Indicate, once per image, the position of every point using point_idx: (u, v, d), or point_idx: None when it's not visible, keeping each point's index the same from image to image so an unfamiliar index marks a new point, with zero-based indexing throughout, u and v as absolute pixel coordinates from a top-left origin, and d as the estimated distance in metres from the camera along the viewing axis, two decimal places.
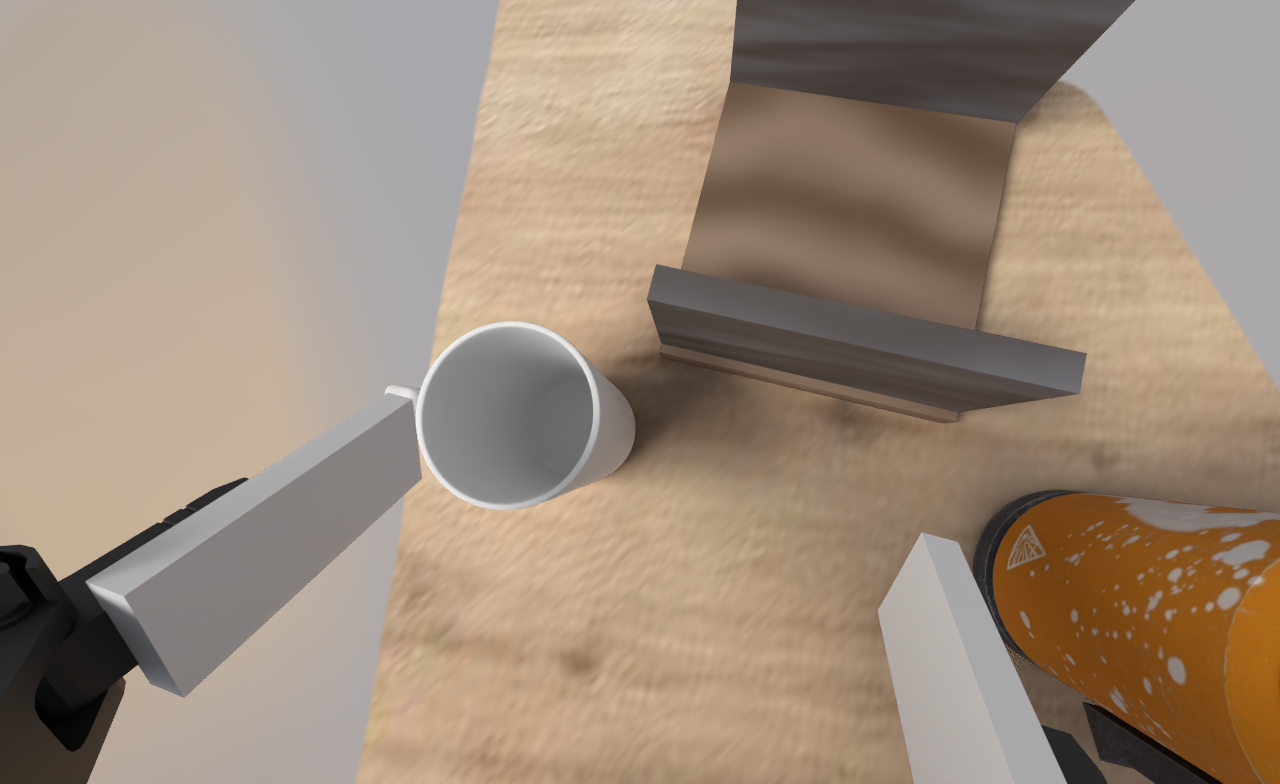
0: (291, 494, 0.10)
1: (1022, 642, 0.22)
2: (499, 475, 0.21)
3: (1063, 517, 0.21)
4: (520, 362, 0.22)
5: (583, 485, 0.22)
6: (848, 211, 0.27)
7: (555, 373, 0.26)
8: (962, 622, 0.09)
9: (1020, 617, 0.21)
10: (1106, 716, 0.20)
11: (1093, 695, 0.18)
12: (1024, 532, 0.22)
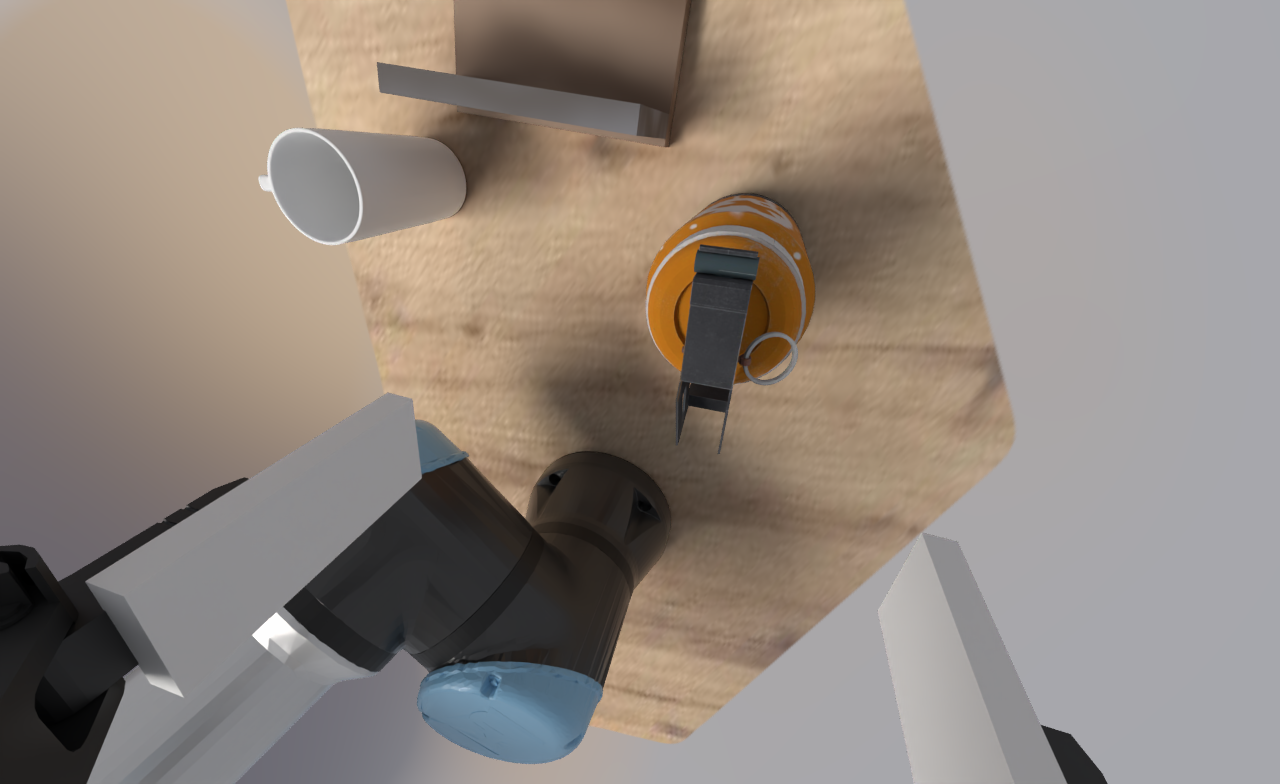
0: (291, 494, 0.10)
1: None
2: (354, 223, 0.35)
3: None
4: None
5: (407, 224, 0.35)
6: None
7: None
8: (962, 622, 0.09)
9: None
10: None
11: None
12: None
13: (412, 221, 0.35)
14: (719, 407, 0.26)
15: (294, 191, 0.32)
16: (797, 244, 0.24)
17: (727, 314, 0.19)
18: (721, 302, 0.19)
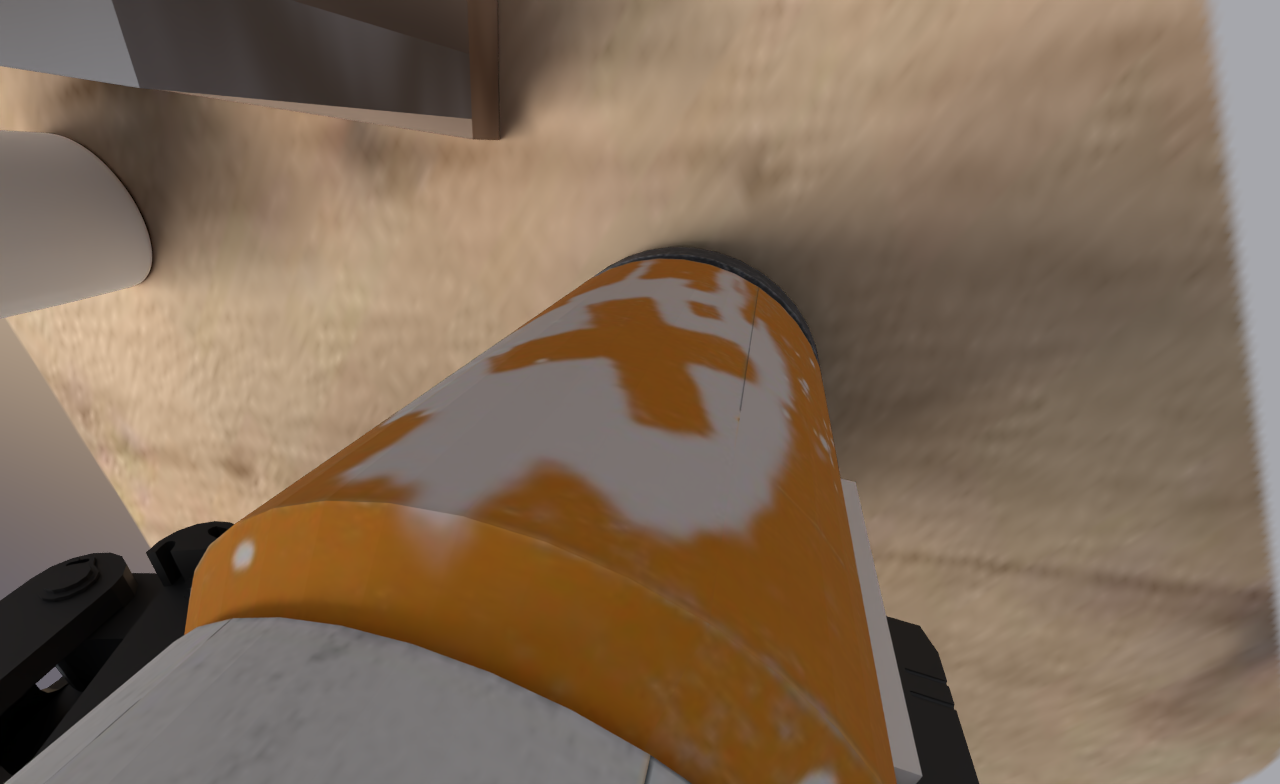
0: None
1: None
2: None
3: None
4: None
5: None
6: None
7: None
8: None
9: None
10: None
11: None
12: None
13: None
14: None
15: None
16: (814, 715, 0.04)
17: None
18: None
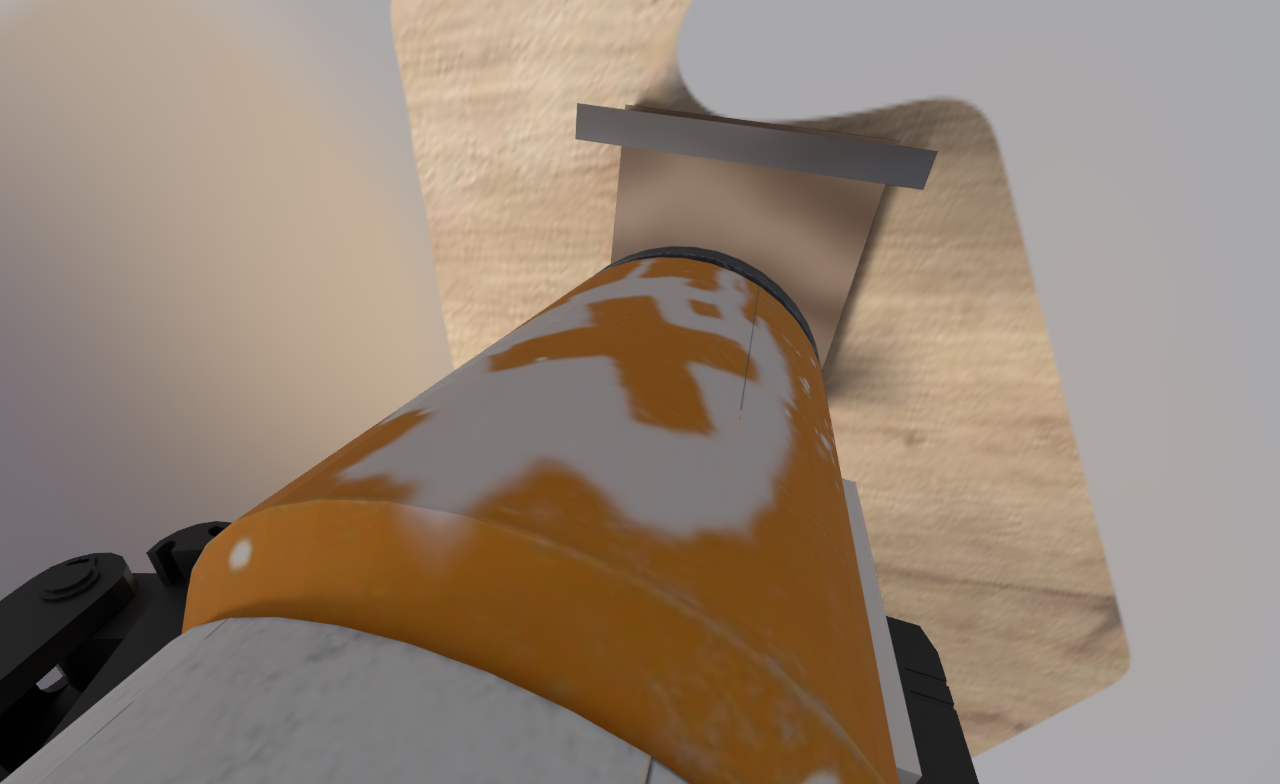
0: None
1: None
2: None
3: None
4: None
5: None
6: None
7: None
8: None
9: None
10: None
11: None
12: None
13: None
14: None
15: None
16: (817, 716, 0.04)
17: None
18: None
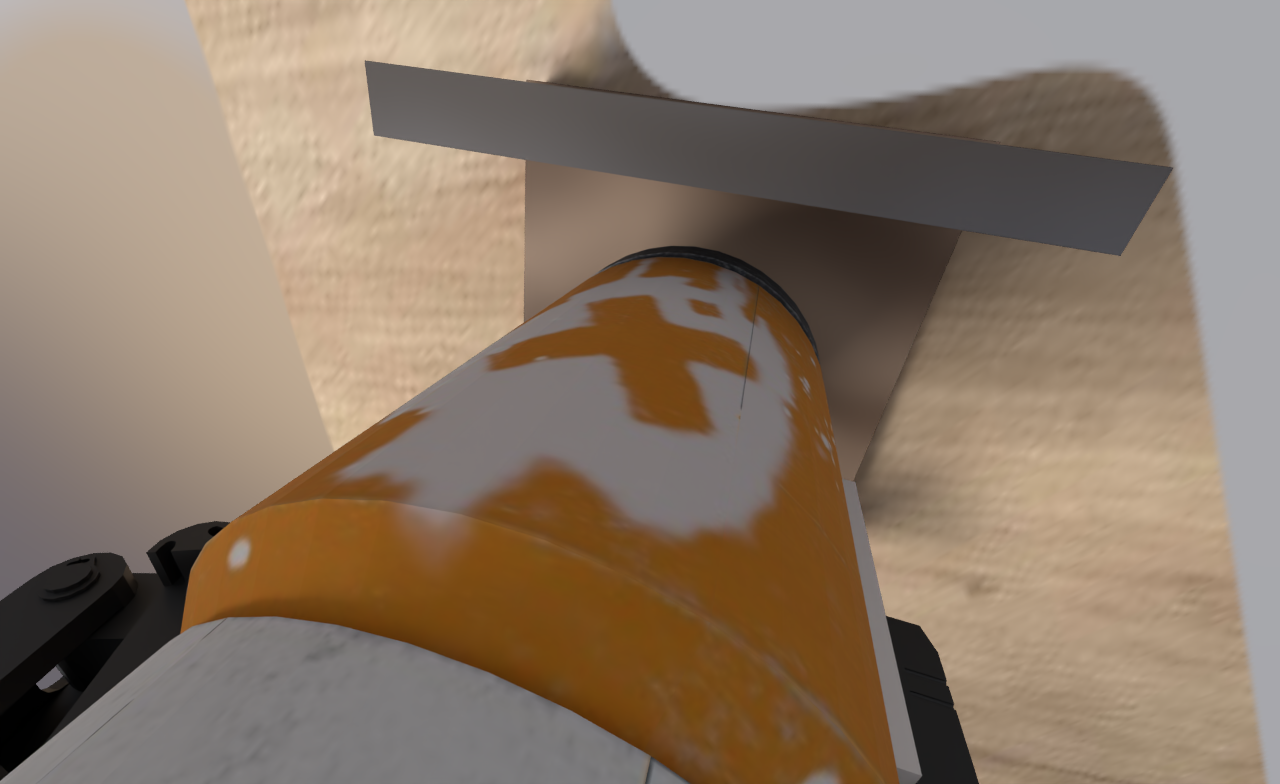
0: None
1: None
2: None
3: None
4: None
5: None
6: None
7: None
8: None
9: None
10: None
11: None
12: None
13: None
14: None
15: None
16: (817, 716, 0.04)
17: None
18: None
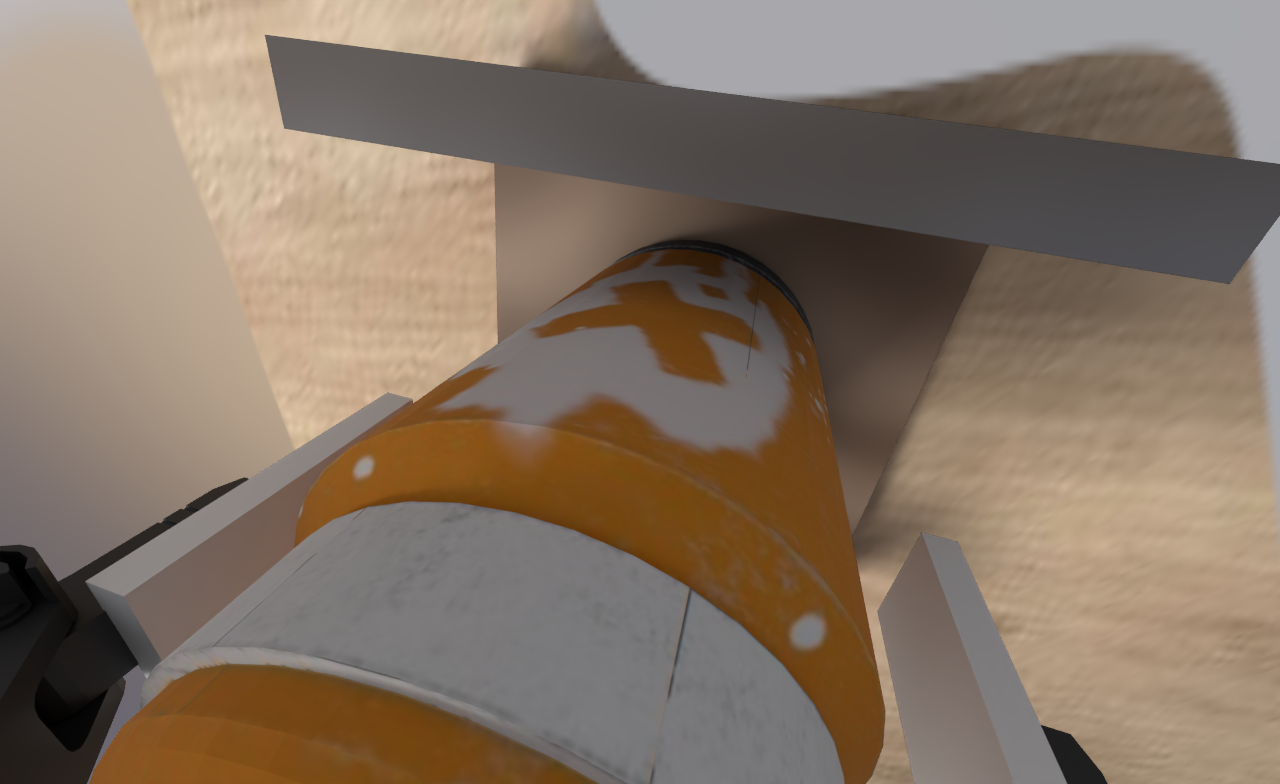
0: (291, 494, 0.10)
1: None
2: None
3: None
4: None
5: None
6: None
7: None
8: (962, 622, 0.09)
9: None
10: None
11: None
12: None
13: None
14: None
15: None
16: (808, 574, 0.05)
17: None
18: None
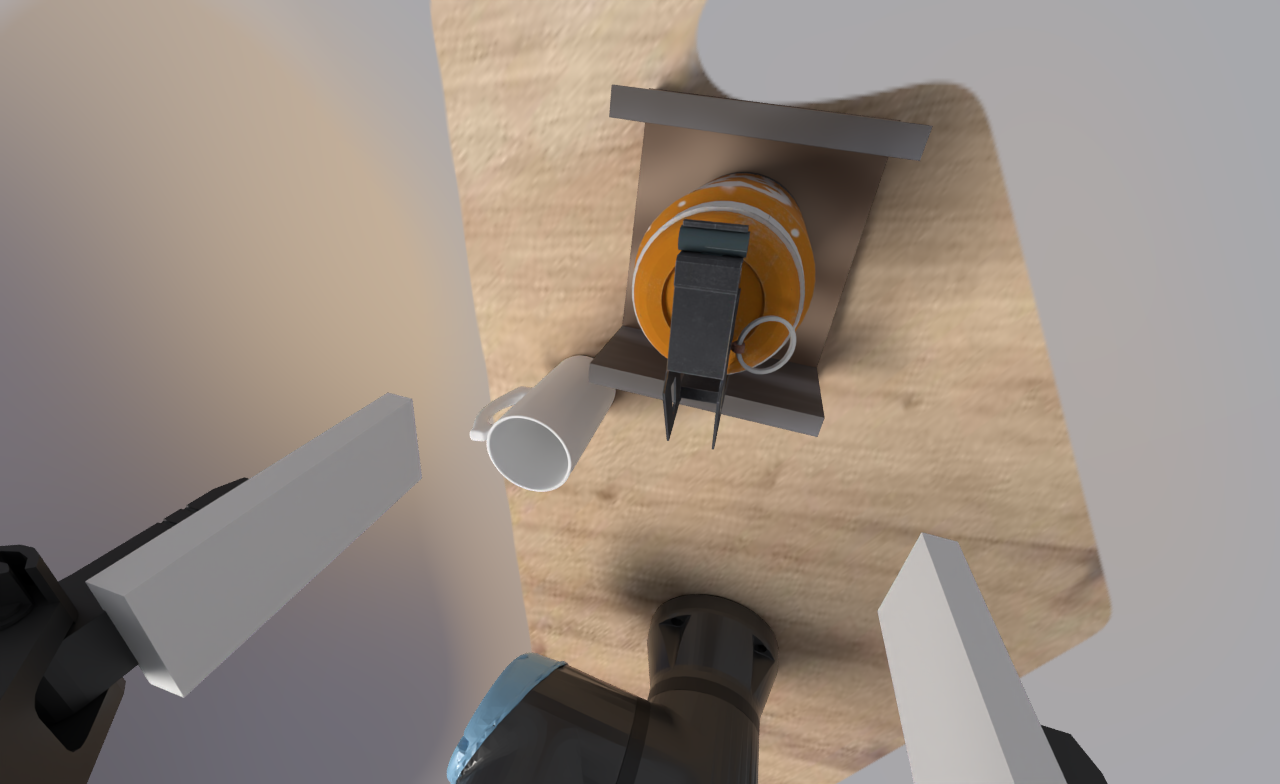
0: (291, 494, 0.10)
1: None
2: (536, 450, 0.40)
3: None
4: None
5: None
6: None
7: None
8: (962, 622, 0.09)
9: None
10: None
11: None
12: None
13: None
14: (713, 399, 0.24)
15: (500, 443, 0.37)
16: (795, 220, 0.22)
17: (715, 296, 0.17)
18: (708, 282, 0.17)
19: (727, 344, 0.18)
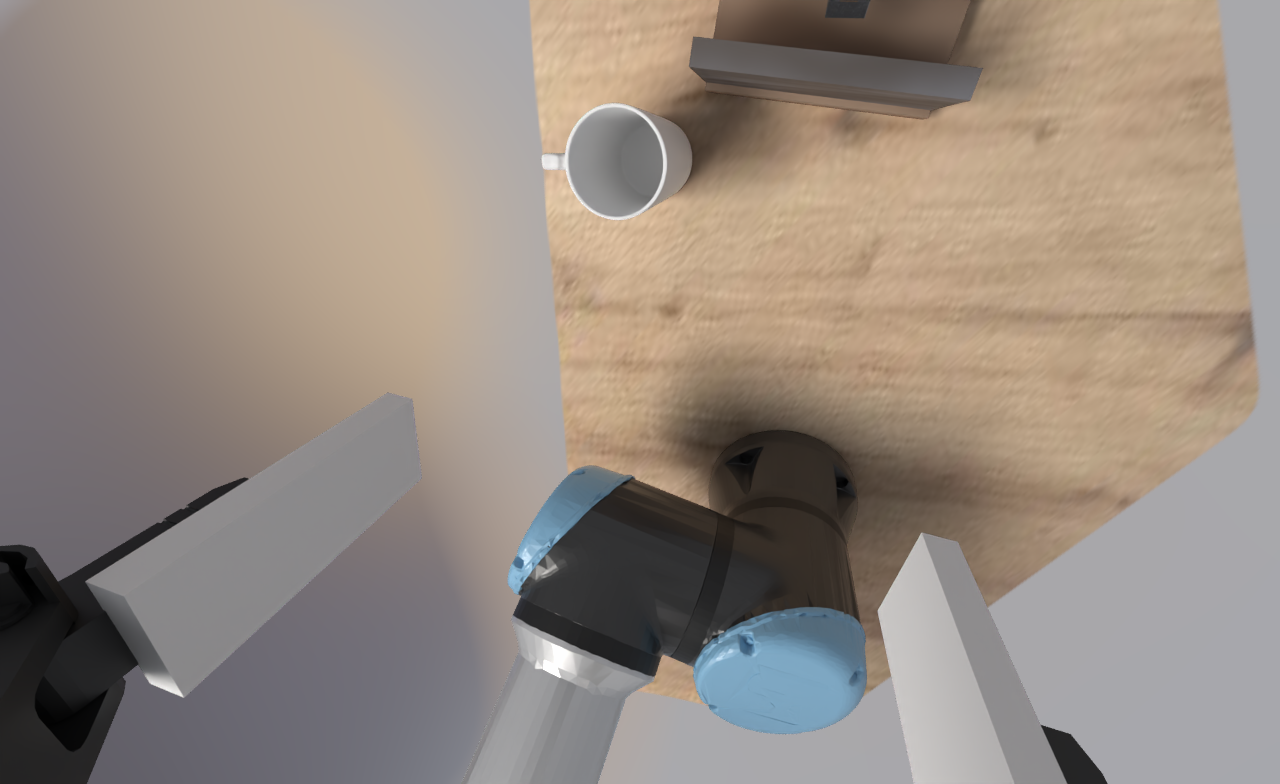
0: (291, 494, 0.10)
1: None
2: (611, 201, 0.35)
3: None
4: (611, 122, 0.34)
5: (661, 201, 0.36)
6: None
7: (631, 122, 0.37)
8: (962, 622, 0.09)
9: None
10: None
11: None
12: None
13: (665, 198, 0.36)
14: None
15: (577, 168, 0.32)
16: None
17: None
18: None
19: None
